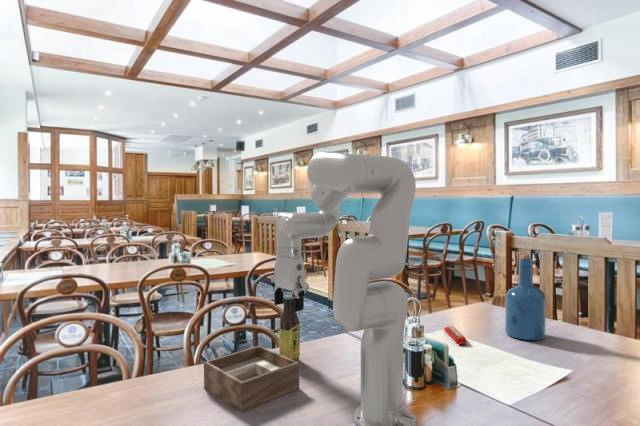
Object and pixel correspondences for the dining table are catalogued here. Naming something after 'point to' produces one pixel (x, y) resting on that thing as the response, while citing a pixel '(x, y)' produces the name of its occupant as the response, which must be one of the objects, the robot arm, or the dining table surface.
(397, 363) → the robot arm
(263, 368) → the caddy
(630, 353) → the dining table surface
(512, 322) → the wine bottle
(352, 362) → the dining table surface
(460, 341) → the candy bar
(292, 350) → the sauce bottle
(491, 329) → the dining table surface
